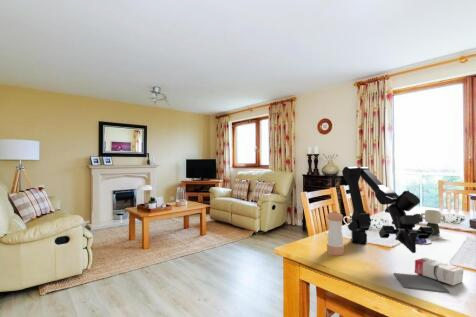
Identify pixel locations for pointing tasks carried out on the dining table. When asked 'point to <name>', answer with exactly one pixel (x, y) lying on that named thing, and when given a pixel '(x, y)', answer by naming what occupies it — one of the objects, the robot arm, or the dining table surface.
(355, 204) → the robot arm
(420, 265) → the ink box
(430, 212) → the character mug
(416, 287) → the mat
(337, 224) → the pepper shaker
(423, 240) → the blue low rounded piece
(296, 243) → the dining table surface
